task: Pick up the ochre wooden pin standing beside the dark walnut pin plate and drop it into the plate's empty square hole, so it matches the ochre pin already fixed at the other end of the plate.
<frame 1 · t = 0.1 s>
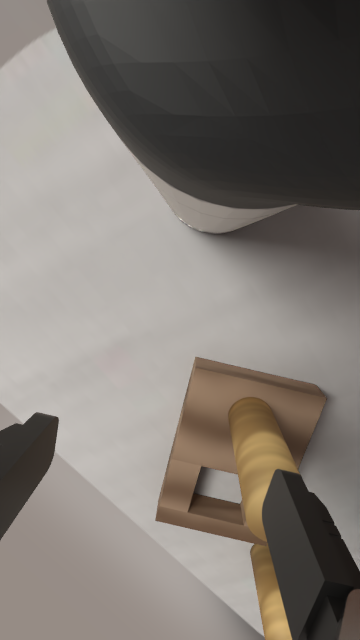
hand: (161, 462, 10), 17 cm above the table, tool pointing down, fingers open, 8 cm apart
pin plate: (230, 446, 30), on the table
pin: (267, 552, 33), on the table
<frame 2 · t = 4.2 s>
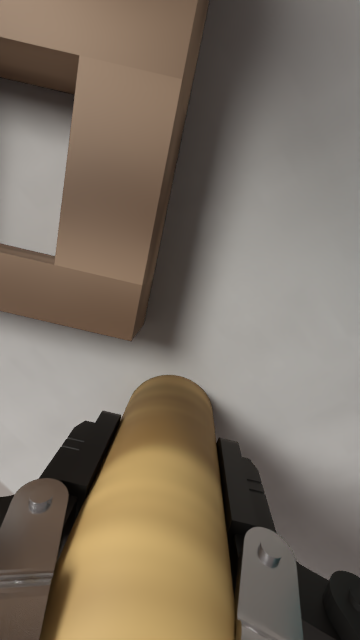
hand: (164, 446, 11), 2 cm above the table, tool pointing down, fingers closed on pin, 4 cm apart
pin plate: (29, 51, 10), on the table
pin: (169, 414, 13), on the table, touching gripper
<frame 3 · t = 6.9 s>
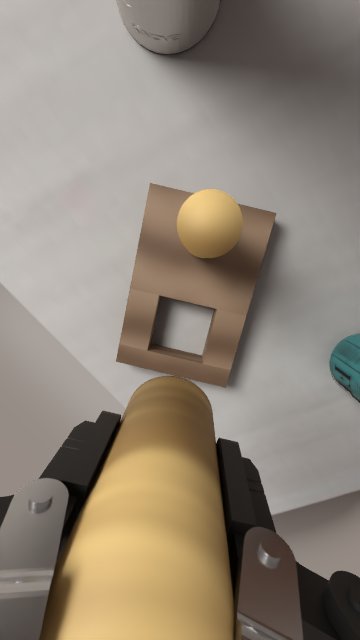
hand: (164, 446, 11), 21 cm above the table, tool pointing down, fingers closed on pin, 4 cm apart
pin plate: (190, 289, 31), on the table
beverage bottle: (350, 355, 31), on the table
pin: (169, 415, 13), point 19 cm above the table, touching gripper
when the fingers open (4 cm above the table, at t = 10.0 s): pin drops 1 cm, resting in pin plate.
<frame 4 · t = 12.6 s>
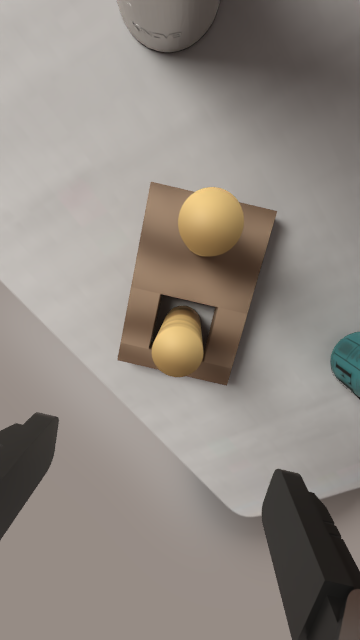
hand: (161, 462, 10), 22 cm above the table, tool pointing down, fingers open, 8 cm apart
pin plate: (191, 288, 31), on the table
beverage bottle: (351, 352, 32), on the table
pin: (182, 323, 32), resting in pin plate
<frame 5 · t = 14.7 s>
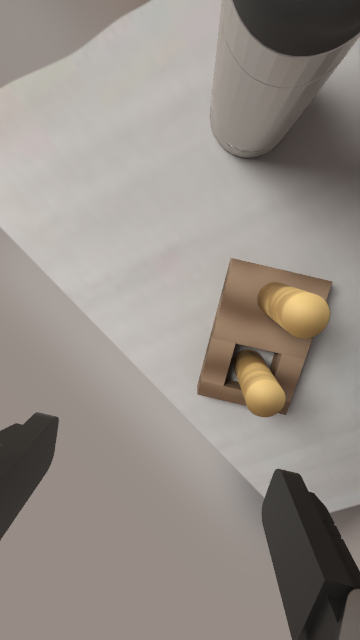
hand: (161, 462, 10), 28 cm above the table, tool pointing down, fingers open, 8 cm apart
pin plate: (256, 335, 38), on the table
pin: (247, 363, 39), resting in pin plate
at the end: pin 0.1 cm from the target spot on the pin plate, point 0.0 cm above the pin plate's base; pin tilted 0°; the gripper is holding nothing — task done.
